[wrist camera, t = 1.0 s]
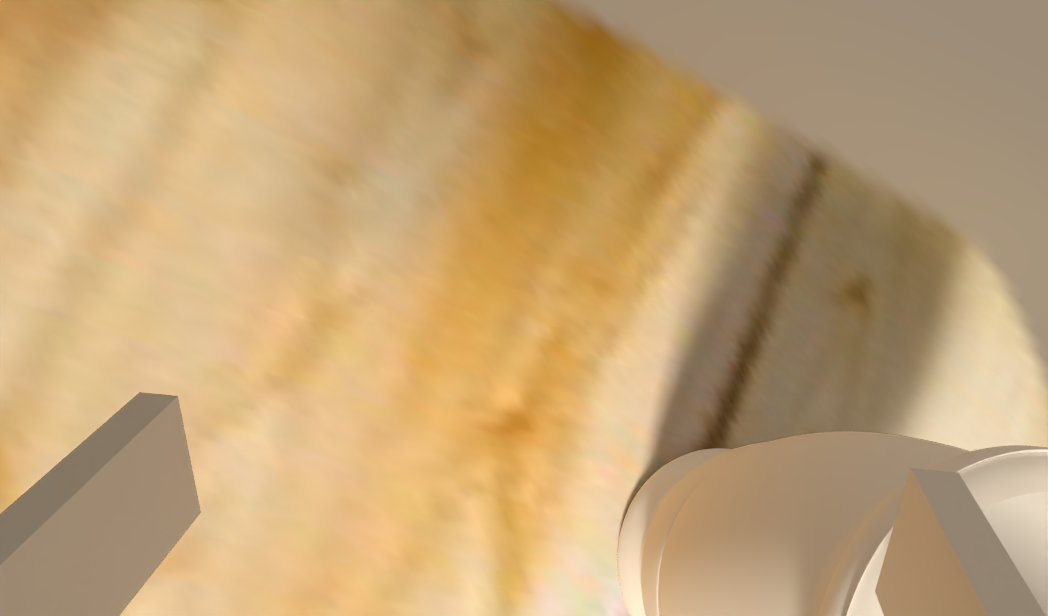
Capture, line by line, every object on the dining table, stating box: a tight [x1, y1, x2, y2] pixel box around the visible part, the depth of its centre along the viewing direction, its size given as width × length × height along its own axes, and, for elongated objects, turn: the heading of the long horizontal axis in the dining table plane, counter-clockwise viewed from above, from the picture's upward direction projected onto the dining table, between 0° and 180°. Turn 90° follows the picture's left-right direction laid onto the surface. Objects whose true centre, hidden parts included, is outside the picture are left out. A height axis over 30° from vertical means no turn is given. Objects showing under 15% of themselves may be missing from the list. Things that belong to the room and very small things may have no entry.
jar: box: [617, 431, 1048, 616], centre depth 22 cm, size 11×10×15 cm
